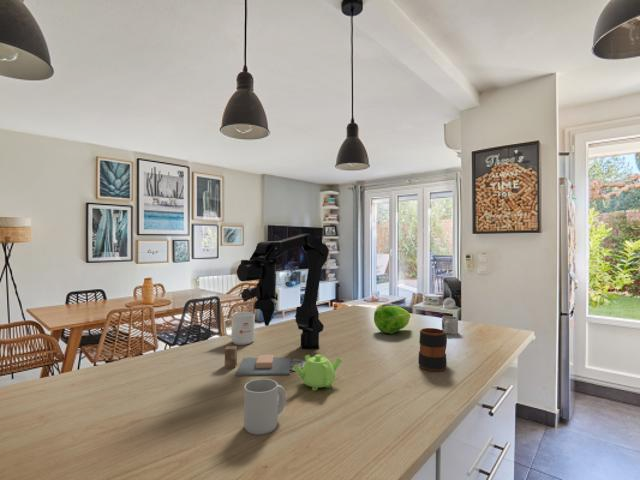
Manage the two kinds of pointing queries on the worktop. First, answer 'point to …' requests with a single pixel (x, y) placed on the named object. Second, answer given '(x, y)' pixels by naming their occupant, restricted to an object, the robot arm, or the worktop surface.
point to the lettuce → (391, 318)
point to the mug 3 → (450, 325)
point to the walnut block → (230, 356)
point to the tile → (265, 361)
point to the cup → (262, 405)
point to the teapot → (318, 371)
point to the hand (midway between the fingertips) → (266, 325)
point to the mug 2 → (432, 349)
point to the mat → (249, 368)
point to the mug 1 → (242, 328)
